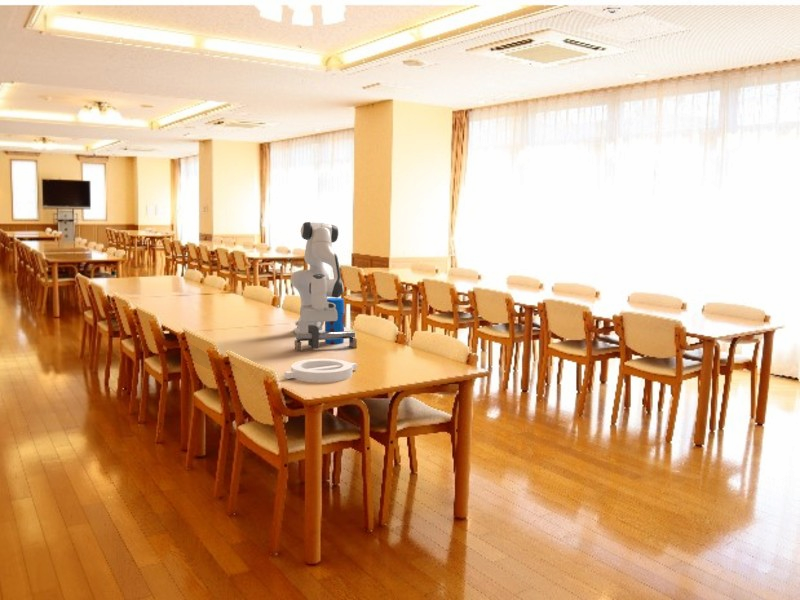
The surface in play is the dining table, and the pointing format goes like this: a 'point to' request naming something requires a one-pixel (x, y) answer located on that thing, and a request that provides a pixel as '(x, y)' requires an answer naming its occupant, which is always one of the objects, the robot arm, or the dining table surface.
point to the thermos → (336, 325)
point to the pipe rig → (327, 336)
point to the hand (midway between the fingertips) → (318, 329)
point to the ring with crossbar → (321, 370)
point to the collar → (314, 336)
